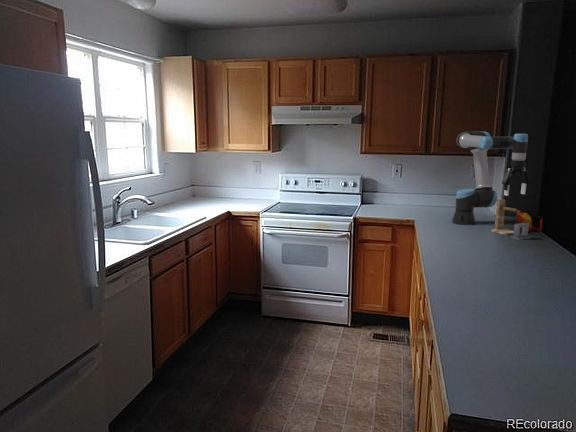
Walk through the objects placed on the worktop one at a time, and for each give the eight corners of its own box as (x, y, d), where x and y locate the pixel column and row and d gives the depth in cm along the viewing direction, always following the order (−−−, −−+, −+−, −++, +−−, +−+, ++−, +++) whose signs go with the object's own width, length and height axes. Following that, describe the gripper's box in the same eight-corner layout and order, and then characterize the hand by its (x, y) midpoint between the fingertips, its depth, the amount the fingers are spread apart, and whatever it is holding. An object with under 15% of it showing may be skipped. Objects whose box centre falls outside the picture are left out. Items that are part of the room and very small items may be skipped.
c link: (517, 238, 252) (518, 224, 250) (513, 237, 254) (514, 223, 253) (527, 237, 254) (528, 223, 253) (523, 236, 257) (524, 222, 256)
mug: (541, 232, 269) (543, 213, 267) (517, 231, 272) (519, 212, 270) (537, 229, 278) (539, 211, 276) (513, 228, 282) (515, 210, 279)
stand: (490, 231, 273) (493, 200, 270) (502, 229, 277) (505, 199, 273) (507, 235, 262) (510, 202, 258) (520, 234, 265) (522, 201, 261)
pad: (510, 237, 256) (510, 236, 256) (521, 236, 259) (521, 235, 259) (518, 239, 250) (519, 238, 250) (530, 238, 253) (530, 237, 253)
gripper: (507, 161, 251) (503, 197, 255) (539, 159, 259) (535, 194, 264) (497, 160, 258) (493, 195, 262) (528, 158, 266) (524, 192, 271)
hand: (514, 194), depth 263 cm, fingers open, 13 cm apart
